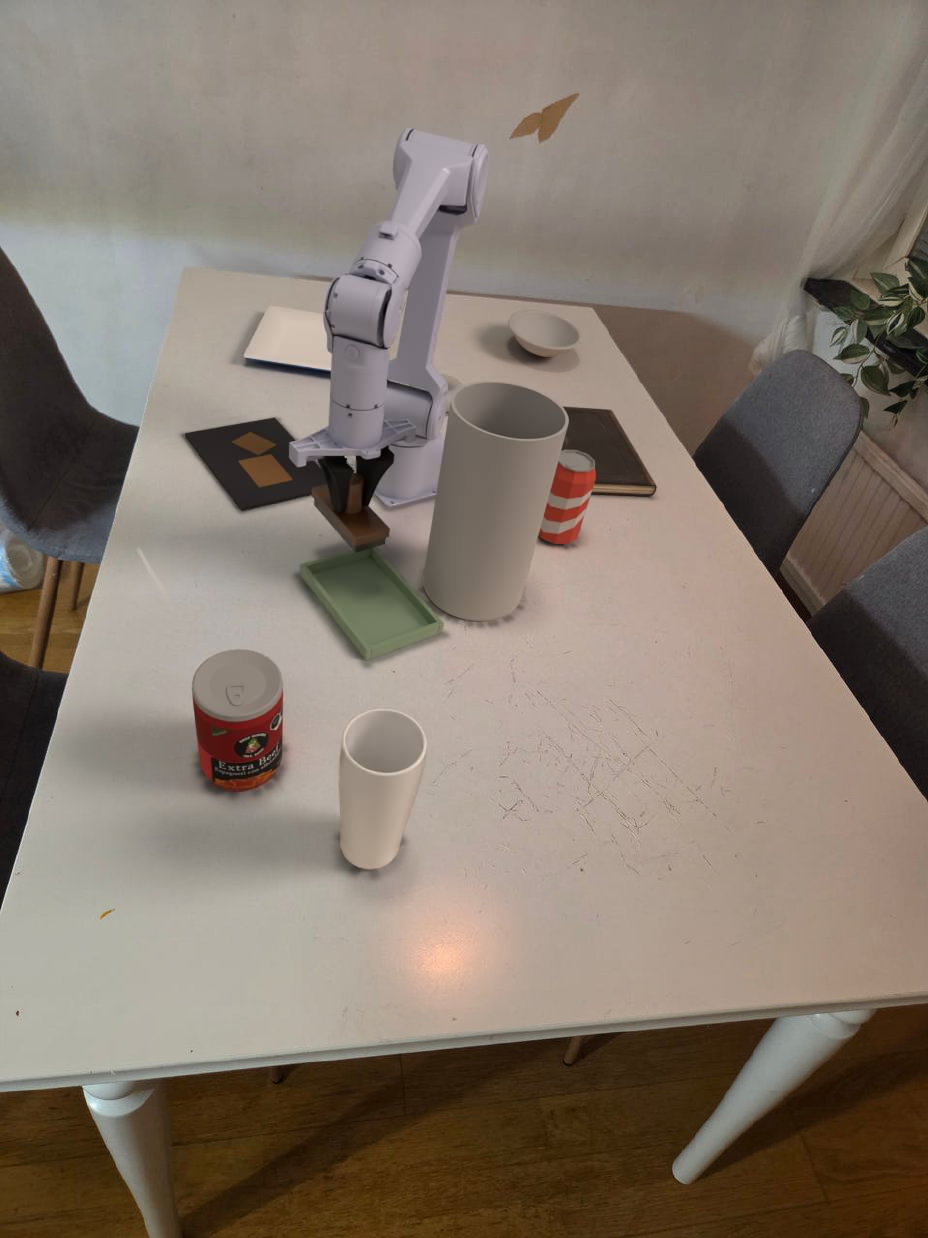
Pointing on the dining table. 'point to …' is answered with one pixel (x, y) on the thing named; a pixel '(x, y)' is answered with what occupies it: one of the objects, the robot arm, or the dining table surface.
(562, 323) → the dish
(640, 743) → the dining table surface
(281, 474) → the mat
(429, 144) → the robot arm
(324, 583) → the tray
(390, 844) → the drinking glass
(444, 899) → the dining table surface
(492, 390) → the cylinder vase
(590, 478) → the beverage can
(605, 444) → the hardcover book
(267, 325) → the plate
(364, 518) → the brush
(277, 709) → the canned food
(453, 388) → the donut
